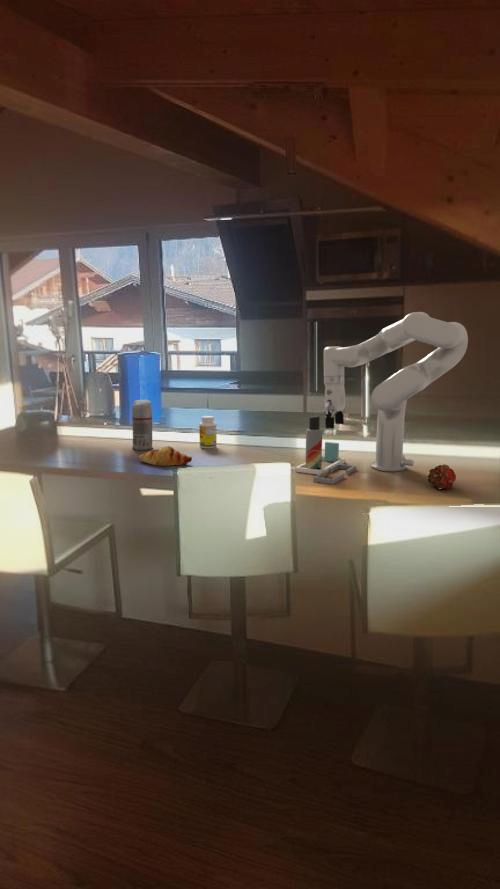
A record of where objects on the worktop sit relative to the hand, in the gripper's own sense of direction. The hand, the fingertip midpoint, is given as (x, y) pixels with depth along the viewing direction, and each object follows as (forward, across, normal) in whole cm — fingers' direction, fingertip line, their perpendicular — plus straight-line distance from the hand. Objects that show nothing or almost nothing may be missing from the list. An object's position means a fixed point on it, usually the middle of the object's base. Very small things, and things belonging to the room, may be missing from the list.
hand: (334, 426), depth 252 cm
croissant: (+12, -33, +55) cm, 65 cm away
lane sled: (+14, -10, +2) cm, 17 cm away
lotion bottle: (+14, -18, +1) cm, 22 cm away
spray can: (+10, -16, +77) cm, 80 cm away
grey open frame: (+14, -20, -8) cm, 25 cm away
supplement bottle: (+12, -2, +55) cm, 57 cm away
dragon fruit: (+16, -18, -44) cm, 49 cm away
